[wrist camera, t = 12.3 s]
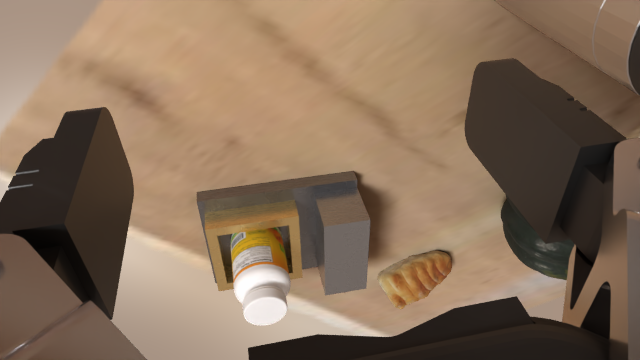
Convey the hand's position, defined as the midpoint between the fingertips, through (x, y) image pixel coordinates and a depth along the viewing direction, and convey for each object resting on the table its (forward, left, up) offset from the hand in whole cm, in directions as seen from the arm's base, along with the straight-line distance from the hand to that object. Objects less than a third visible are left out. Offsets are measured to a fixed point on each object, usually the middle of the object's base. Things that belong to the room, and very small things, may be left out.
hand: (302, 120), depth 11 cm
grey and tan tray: (-1, +30, -29) cm, 42 cm away
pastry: (-17, +42, -30) cm, 54 cm away
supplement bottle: (+2, +30, -28) cm, 41 cm away
